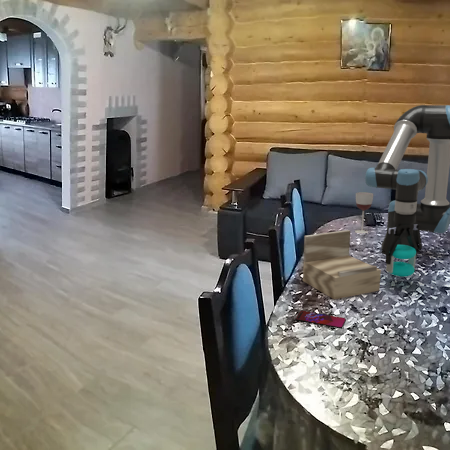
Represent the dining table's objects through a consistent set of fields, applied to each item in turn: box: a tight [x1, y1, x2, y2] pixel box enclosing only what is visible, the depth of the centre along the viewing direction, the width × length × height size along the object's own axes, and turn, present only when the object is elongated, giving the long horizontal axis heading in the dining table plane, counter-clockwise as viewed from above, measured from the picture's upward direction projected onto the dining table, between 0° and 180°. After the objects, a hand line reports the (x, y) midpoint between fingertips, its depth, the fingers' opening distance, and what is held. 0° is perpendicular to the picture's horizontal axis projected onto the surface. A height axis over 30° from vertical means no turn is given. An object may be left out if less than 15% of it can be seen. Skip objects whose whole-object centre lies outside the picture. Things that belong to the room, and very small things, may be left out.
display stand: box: [302, 229, 382, 300], centre depth 193 cm, size 20×20×18 cm
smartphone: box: [294, 310, 347, 329], centre depth 167 cm, size 8×1×15 cm
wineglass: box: [354, 191, 374, 235], centre depth 267 cm, size 8×9×20 cm
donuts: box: [389, 245, 416, 277], centre depth 195 cm, size 10×10×10 cm
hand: (400, 269), depth 196 cm, fingers closed on donuts, 10 cm apart
